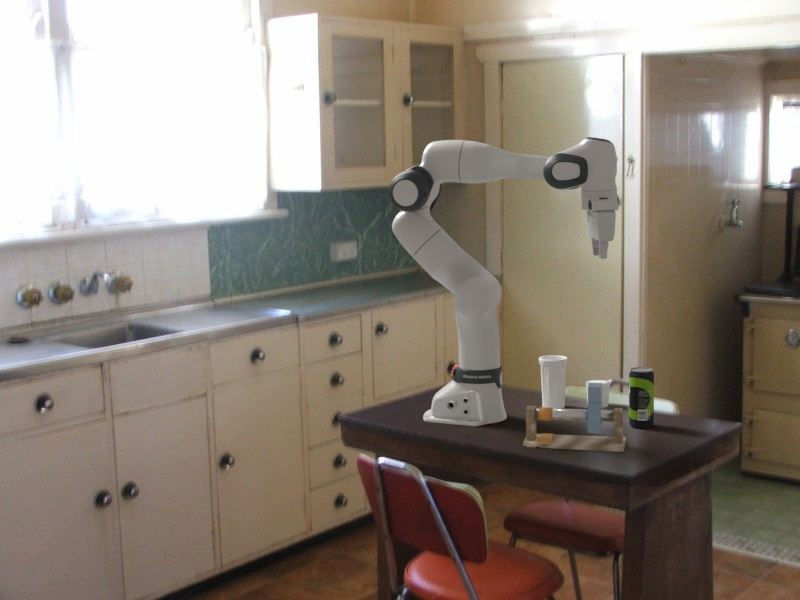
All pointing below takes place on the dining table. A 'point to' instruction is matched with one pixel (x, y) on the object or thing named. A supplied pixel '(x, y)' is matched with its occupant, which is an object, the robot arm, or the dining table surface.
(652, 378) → the beverage can
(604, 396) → the small white cup
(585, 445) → the pipe stand
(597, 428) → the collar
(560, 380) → the cup
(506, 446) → the dining table surface
